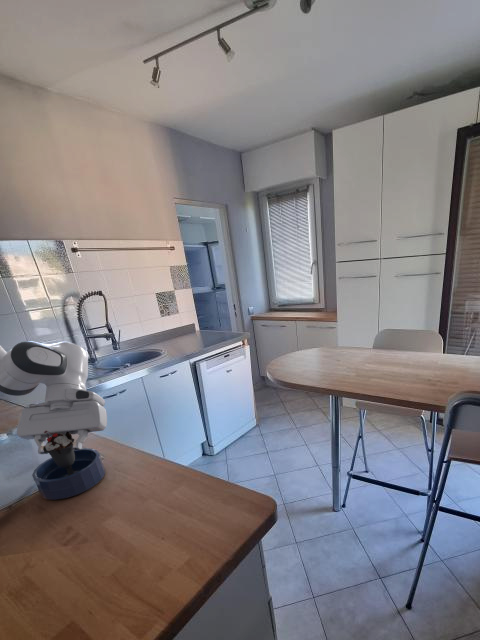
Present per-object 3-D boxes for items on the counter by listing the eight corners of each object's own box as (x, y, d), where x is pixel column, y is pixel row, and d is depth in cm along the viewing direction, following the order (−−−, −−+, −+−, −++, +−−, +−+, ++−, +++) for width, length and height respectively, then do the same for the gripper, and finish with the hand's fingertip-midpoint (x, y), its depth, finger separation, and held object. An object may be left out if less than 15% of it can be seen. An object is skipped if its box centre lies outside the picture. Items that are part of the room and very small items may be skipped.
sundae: (55, 488, 83) (32, 436, 77) (60, 474, 89) (39, 424, 83) (85, 480, 86) (64, 429, 80) (88, 467, 91) (69, 418, 85)
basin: (28, 505, 80) (18, 485, 78) (59, 470, 94) (51, 452, 91) (92, 496, 82) (84, 476, 80) (113, 463, 95) (107, 445, 93)
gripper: (14, 400, 84) (5, 454, 79) (99, 391, 86) (96, 443, 81) (31, 409, 90) (24, 459, 85) (111, 400, 92) (108, 448, 87)
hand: (60, 451), depth 83 cm, fingers closed on sundae, 6 cm apart
